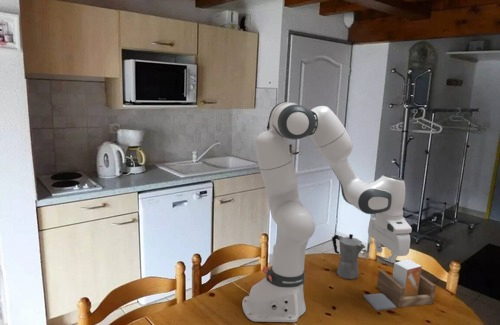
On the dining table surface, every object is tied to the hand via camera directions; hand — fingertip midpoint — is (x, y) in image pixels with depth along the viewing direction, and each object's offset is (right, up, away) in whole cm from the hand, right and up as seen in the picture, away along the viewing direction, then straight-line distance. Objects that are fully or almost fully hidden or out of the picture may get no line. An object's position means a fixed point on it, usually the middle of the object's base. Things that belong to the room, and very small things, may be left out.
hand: (385, 256), depth 130 cm
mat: (-1, -18, +3) cm, 18 cm away
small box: (+11, -18, +9) cm, 22 cm away
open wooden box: (+11, -17, +9) cm, 22 cm away
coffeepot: (-8, -14, +25) cm, 29 cm away
